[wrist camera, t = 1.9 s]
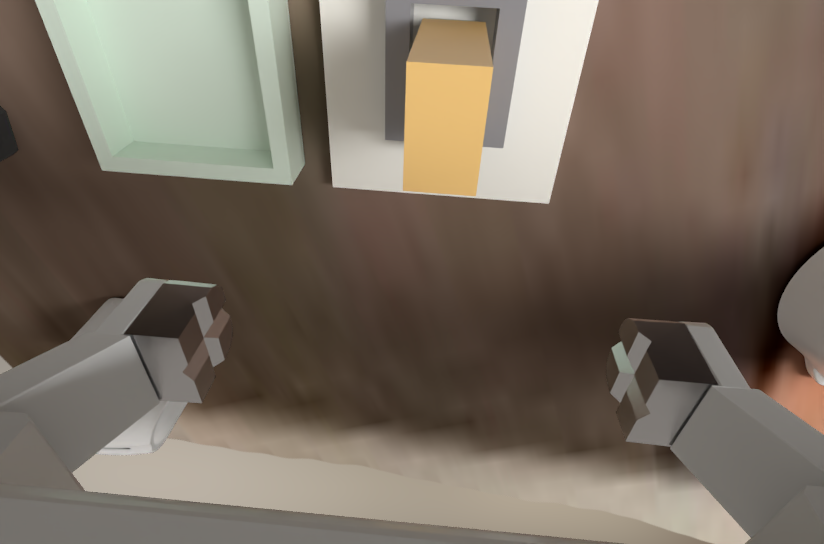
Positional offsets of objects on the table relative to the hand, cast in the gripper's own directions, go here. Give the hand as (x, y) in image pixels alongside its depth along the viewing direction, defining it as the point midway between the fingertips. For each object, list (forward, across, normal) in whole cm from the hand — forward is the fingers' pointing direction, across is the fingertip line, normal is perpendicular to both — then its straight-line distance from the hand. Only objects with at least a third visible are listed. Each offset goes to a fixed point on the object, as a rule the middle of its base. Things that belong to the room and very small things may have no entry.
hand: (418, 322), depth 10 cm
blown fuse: (+20, 0, 0) cm, 20 cm away
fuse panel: (+21, 0, 0) cm, 21 cm away
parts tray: (+21, +15, 0) cm, 26 cm away
